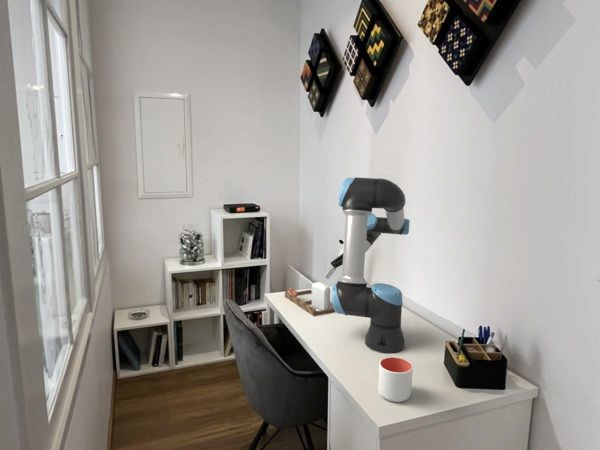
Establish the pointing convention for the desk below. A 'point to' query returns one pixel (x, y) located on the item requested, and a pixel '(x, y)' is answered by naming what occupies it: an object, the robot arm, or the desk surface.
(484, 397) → the desk surface
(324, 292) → the photo printer
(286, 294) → the wooden stand frame
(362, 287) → the robot arm
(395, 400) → the cup
